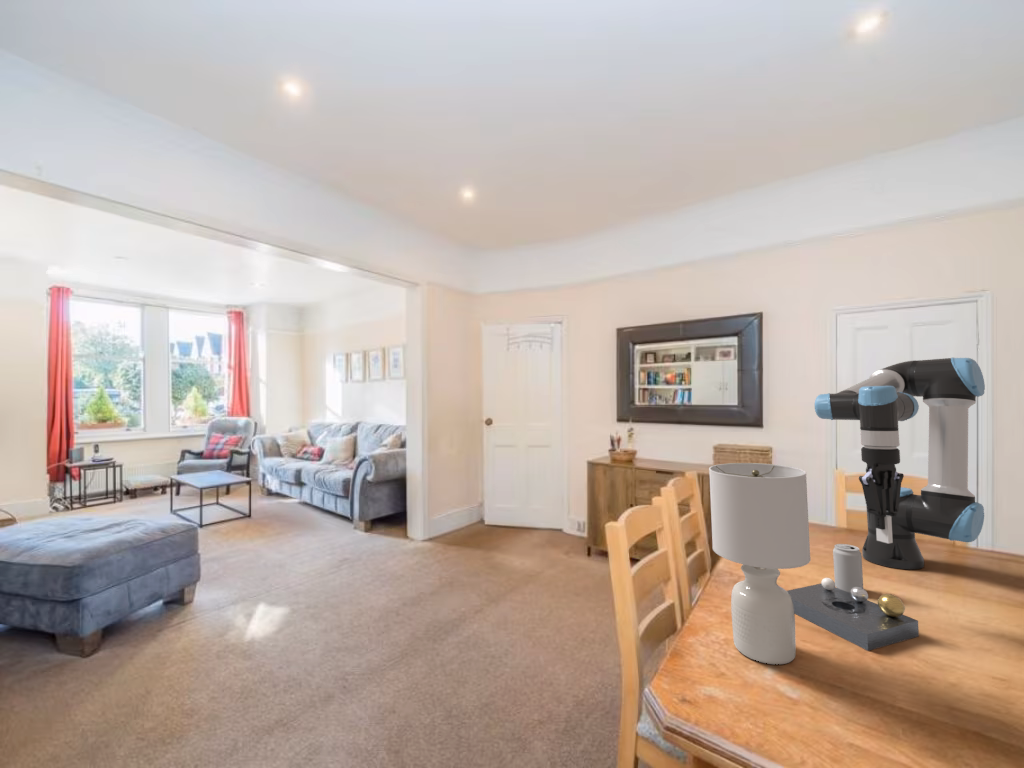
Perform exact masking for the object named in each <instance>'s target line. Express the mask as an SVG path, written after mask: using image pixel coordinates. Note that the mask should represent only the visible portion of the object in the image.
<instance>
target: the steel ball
mask: <svg viewBox="0 0 1024 768" xmlns="http://www.w3.org/2000/svg"><path fill="white" fill-rule="evenodd" d="M850 594H851V596H852V598H853V599H854V600H856V601H857V602H865V601H867V600H868V599H869V594H868V592H867V590H866V589H864V587H863V588H861V587H853V588H852V589H851V591H850Z"/></svg>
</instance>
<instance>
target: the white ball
mask: <svg viewBox="0 0 1024 768" xmlns="http://www.w3.org/2000/svg"><path fill="white" fill-rule="evenodd" d="M820 584H822V586H823V587H824V588H825V589H827V590H833V589H834V588H835V587H836V586H835V580H833V579H832V578H830V577H824V578H822V580H821V582H820Z"/></svg>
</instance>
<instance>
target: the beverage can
mask: <svg viewBox="0 0 1024 768" xmlns="http://www.w3.org/2000/svg"><path fill="white" fill-rule="evenodd" d="M833 547H834V548H833V549H832V556H833V576H834V582H835V587H836V588H839V589H841V590H844V591H846V592H849V593H850V591H851V589H852V588H853V587H861V588H863V589H864V576H863V574H864V573H863V558H862V557H863V555H862V551H860V548H859V547H858V546H856V545H853V544H852V545H851V544H848V543H847V544H846V543H836V544H834V546H833Z"/></svg>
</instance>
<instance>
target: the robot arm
mask: <svg viewBox="0 0 1024 768" xmlns="http://www.w3.org/2000/svg"><path fill="white" fill-rule="evenodd" d="M984 378H985V377H984V375H983V372H982V370H981V368H980V365H979V363H978V362H977V361H976V360H975V359H973V358H970V357H950V358H949V357H948V358H933V359H922V360H920V359H919V360H907V361H902V362H898V363H895V364H891V365H889V366H888V365H887V366H886V367H883V368H881V369H878V370H877V371H874V372H873V373H872V374H871V375H870V376H869V377H868V378H867V379H865V380H863V381H861V382H859V383H856V384H854V385H851V386H849V387H848V388H845V389H843V390H841V391H839V392H835V393H820V394H818V395H817V396H816V398H815V399H814V412H815V414H816V416H817V417H818V418H820V419H822V420H831V421H833V420H838V421H839V420H840V421H841V420H842V421H859V429H860V444H861V445H862V446H863V447H862V448H861V449H860V450H861V452H860V453H861V461H862V462H864V463H865V464H866V468H865V472H866V473H865V474H864V476H863V475H859V476H858V480H859V482H860V484H861V486H862V491H863V495H864V500H865V504H866V520H867V521H866V522H867V535H866V538H865V541H864V544H863V547H862V548H861V555H862V557H863V558H862V559H864V560H866V561H868V562H870V563H872V564H876V565H879V566H884V567H886V568H893V569H899V570H919V569H923V568H924V567H925V559H924V556H923V554H922V552H921V550H920V547H919V545H918V543H917V540H916V534H919V535H920V534H921V535H925V536H929V537H935V538H939V539H945V540H949V541H951V542H952V541H954V542H956V541H957V542H960V543H961V542H963V543H972V542H975V541H976V540H977V539H978V537H979V536H980V533H981V532H982V529H983V526H984V521H985V508H984V506H983V504H982V503H980V502H978V501H976V496H975V495H974V494H973V493H972V492H971V491H970V490H969V488H968V486H969V484H968V482H969V479H968V478H969V471H968V470H969V408H970V407H972V406H973V405H975V404H976V402H977V400H976V397H978V398H979V397H982V396H984V394H985V390H986V388H985V387H986V384H985V379H984ZM916 397H917V398H918V397H920V398H921V397H922V402H923V403H924V404H925V405H927V407H928V410H929V411H928V454H927V455H928V456H927V457H928V458H927V459H928V461H927V485H926V486H924V487H922V488H921V489H920V494H914V491H913V489H912V488H910V487H909V488H908V487H902V482H903V480H904V478H905V477H904V474H903V473H901V472H897V467H896V465H899V464H900V463H901V452H900V449H899V448H898V447H900V444H901V443H900V434H899V433H900V430H899V422H905V421H908V420H910V419H912V418H914V417H915V416H916V415H917V414H918V413H919V409H920V408H919V407H920V405H919V401H918V399H916Z"/></svg>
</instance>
